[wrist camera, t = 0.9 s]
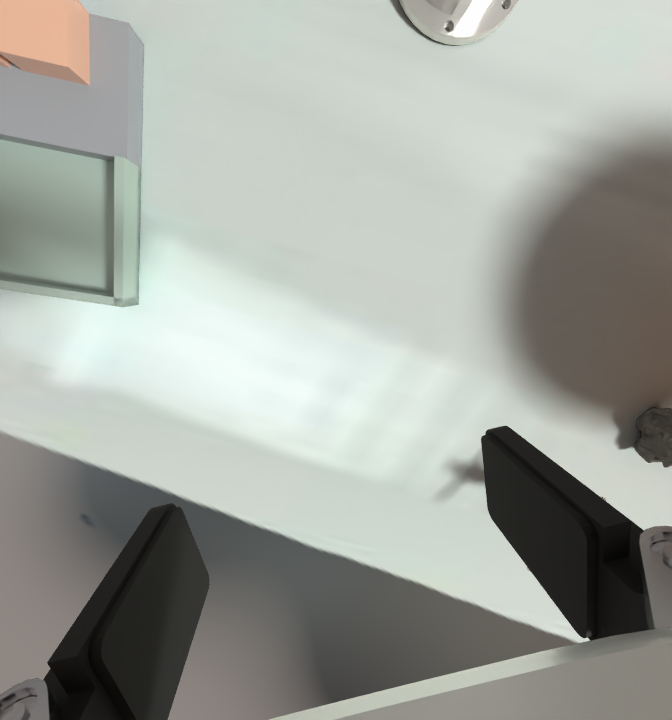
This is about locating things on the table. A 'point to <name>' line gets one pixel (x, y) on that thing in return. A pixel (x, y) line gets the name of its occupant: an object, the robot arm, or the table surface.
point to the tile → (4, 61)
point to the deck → (81, 100)
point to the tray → (69, 225)
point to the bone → (655, 436)
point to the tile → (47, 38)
